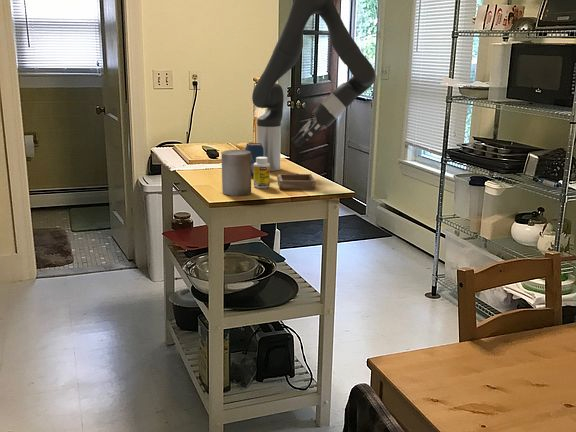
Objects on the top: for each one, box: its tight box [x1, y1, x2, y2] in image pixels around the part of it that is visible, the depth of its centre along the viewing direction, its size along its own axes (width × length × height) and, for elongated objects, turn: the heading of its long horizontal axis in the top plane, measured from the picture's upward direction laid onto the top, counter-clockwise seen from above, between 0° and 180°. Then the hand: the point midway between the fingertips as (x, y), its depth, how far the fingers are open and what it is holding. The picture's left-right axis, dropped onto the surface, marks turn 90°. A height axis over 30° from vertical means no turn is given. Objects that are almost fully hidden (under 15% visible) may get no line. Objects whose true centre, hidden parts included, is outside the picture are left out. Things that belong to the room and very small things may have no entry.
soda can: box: [244, 142, 264, 178], centre depth 235 cm, size 7×7×12 cm
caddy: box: [277, 173, 316, 191], centre depth 220 cm, size 12×12×3 cm
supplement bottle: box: [253, 157, 271, 189], centre depth 217 cm, size 6×6×10 cm
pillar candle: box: [221, 147, 252, 197], centre depth 207 cm, size 10×10×15 cm
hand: (294, 143), depth 215 cm, fingers open, 8 cm apart
